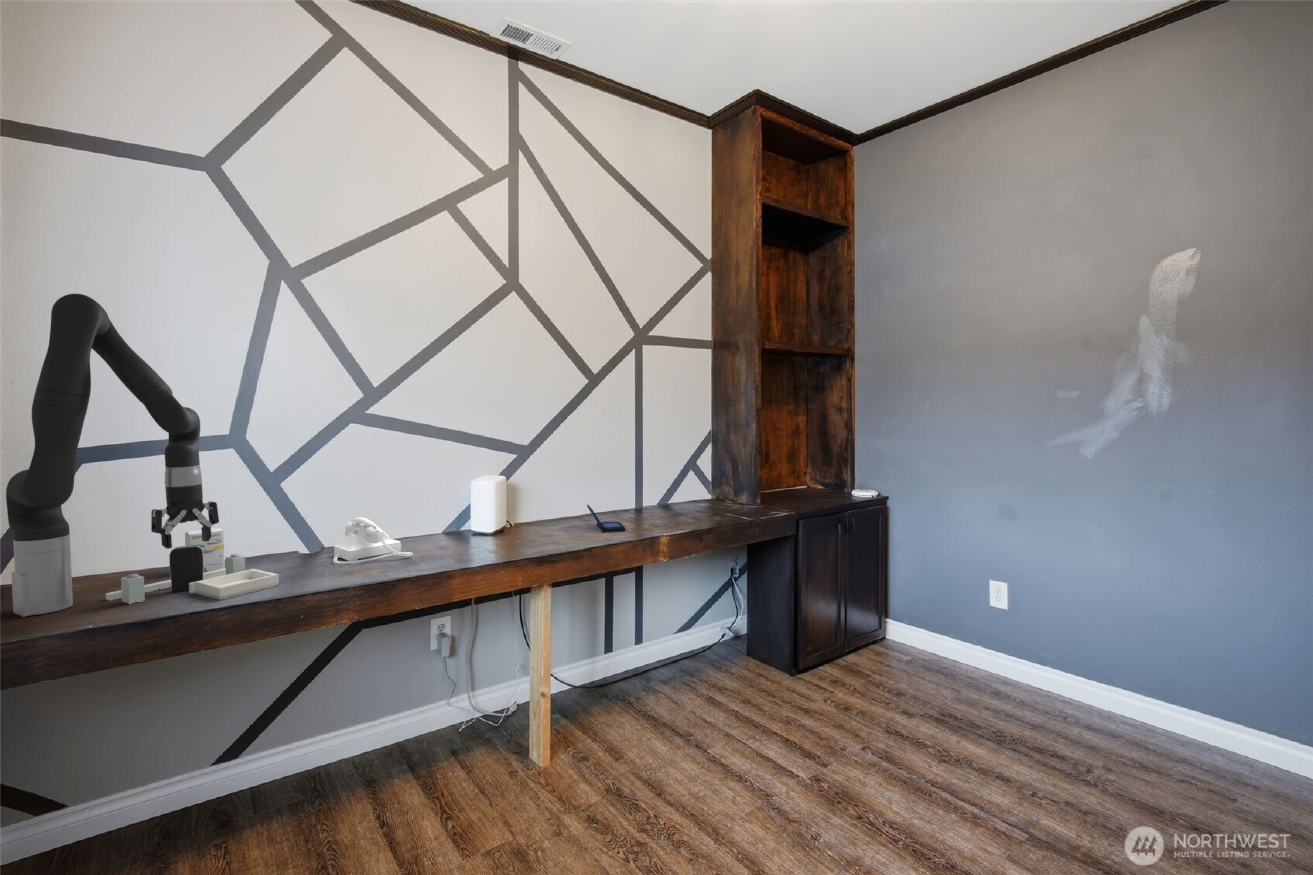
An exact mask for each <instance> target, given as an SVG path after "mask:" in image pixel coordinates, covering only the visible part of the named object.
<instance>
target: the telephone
mask: <svg viewBox="0 0 1313 875" xmlns="http://www.w3.org/2000/svg"><path fill="white" fill-rule="evenodd" d="M344 536H346V537H344V539H343V540H342V541H341V542H339V543H338V544H336V545H334V549H333V550H334V551H333V553H334V554H333V555H334V556H333V559H332V562H333V564H335V565H343V566H345V565H347V566H348V565H355V564H362V563H366V562H367V563H368V562H373V561H374V562H375V561H377V560H381V559H385V558H388V557H393V555H394V556H402V557H410V558H411V557H413V556H414V553H413V552H412V551H411V552H410V551H403V552H402V544H401V543H402V542H401V541H400V540H397V539H393V538H390V537H389V536H390V535H389V534H388V533H386V531H384V530H383V529H381V528H380V527H379V526H378V525H376V524H375V522H373V521H371V520H370V519H368V518H365V517H362V516H361V517H355V518H353V519H351V521H350V522H348V523H347V524H346V526H345V532H344ZM402 554H403V555H402ZM410 554H411V555H410ZM374 556H375V557H374ZM338 558H339V559H340V558H341V559H343V560H346V561H339V560H338ZM359 559H360V560H359Z"/></svg>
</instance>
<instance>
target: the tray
mask: <svg viewBox="0 0 1313 875" xmlns="http://www.w3.org/2000/svg"><path fill="white" fill-rule="evenodd" d="M279 577H280V575H279V574H278V573H275V572H269V571H265V570H262V569H256V568H251V569H247V570H246V569H245V571H241V572H237V573H232V574H228V575H223V576H219V577H214V578H210V579H205V580H201V581H196V582H195V592H194V593H195V594H197V595H200V596H201V595H202V596H203V595H204V597H208V598H210V599H211V598H212V599H214V600H215V599H216V600H218V599H219V601H223V600H226V599H227V600H228V599H232V598H235V597H239V596H243V595H247V594H250V593H249V592H251V593H255V592H259V591H262V590H261V589H263V590H266V589H269V588H273V587H274V586H275V587H277V585H279V586H280V579H279ZM258 590H259V591H258ZM246 593H247V594H246ZM238 595H239V596H238ZM222 599H223V600H222Z"/></svg>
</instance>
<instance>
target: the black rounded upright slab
mask: <svg viewBox="0 0 1313 875" xmlns="http://www.w3.org/2000/svg"><path fill="white" fill-rule="evenodd" d="M169 552H170V553H169V564H168V565H169V577H170V580H171V587H170V589H171V592H172V593H174V592H176V593H177V592H184V591H185V592H186V591H189V583H192V582H196V581H201V580H203V573H204V572H203V571H204V558H203V550H202V548H201V547H200V546H198V545H191V546H185V545H184V546H176V547H174V548H172V549H171V550H170V551H169Z"/></svg>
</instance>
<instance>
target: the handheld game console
mask: <svg viewBox="0 0 1313 875" xmlns="http://www.w3.org/2000/svg"><path fill="white" fill-rule="evenodd" d="M586 507H587V509H588V510H589V512H590V513H591V515H592V516H593V518H594V519H595V521H596V526H597V527H598V528H599V529H600V531H601V532H602V533H615V532H617V533H618V532H620V531H621V532H625V531H626V527H625V526H624V525H623V524H622V523H621V522H620V521H604V522H601V521H600V519H599V518H598V516H597V515H596V513H595V512H594V509H593V508H592V507H591V506H590V505H589V504H586Z"/></svg>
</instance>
